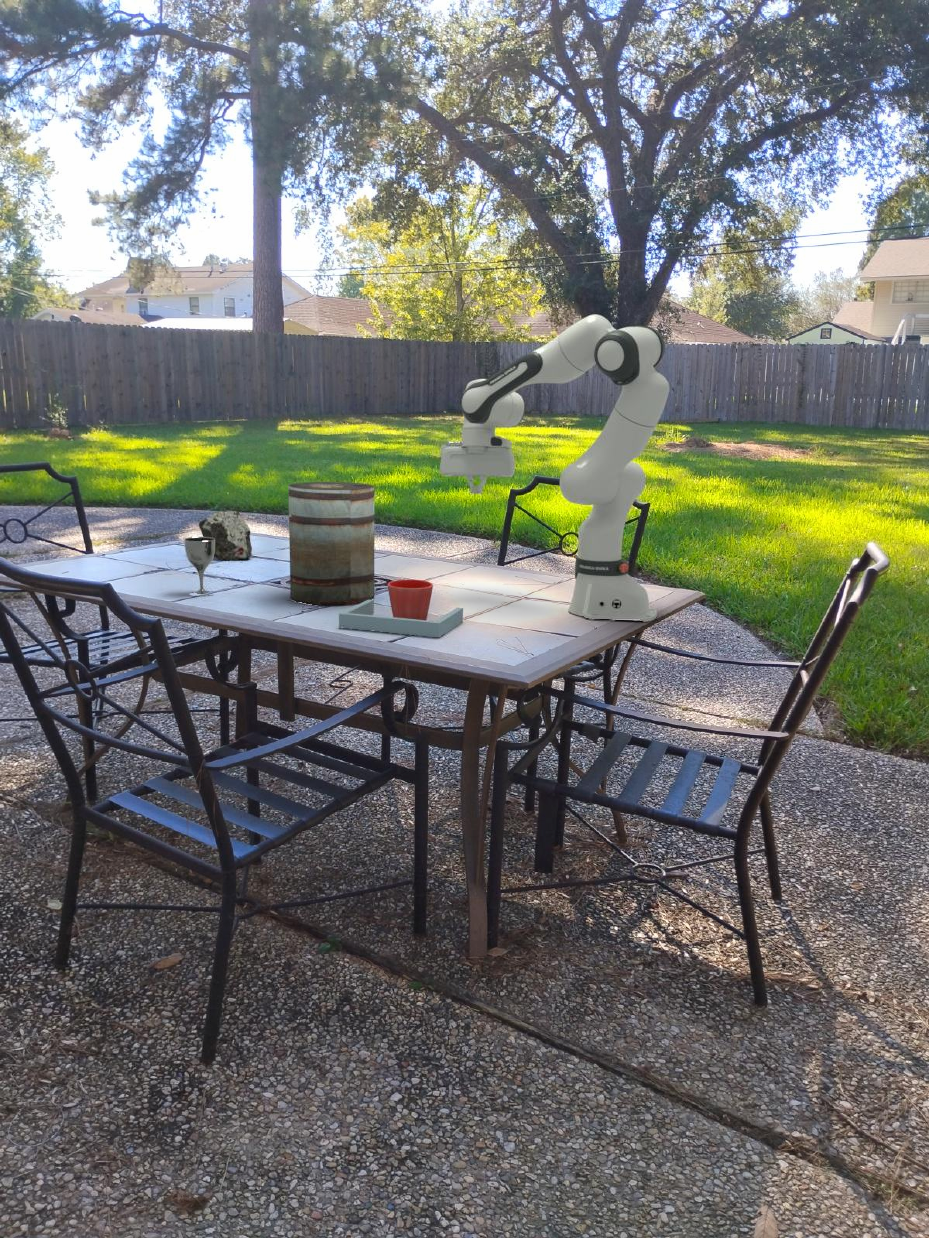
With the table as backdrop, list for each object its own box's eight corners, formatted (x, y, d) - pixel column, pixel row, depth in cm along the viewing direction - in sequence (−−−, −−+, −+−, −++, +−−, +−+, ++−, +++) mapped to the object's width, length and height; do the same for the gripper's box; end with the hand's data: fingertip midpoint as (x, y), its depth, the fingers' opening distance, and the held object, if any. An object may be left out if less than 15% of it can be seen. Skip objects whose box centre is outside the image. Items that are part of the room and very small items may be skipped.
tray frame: (462, 622, 244) (463, 608, 243) (439, 638, 228) (439, 623, 227) (368, 613, 252) (368, 599, 251) (338, 628, 235) (338, 613, 234)
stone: (191, 568, 323) (190, 528, 314) (203, 540, 338) (203, 501, 329) (249, 575, 324) (250, 535, 316) (258, 547, 339) (259, 508, 331)
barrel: (352, 586, 285) (351, 480, 278) (389, 601, 266) (389, 488, 259) (277, 593, 273) (275, 483, 266) (310, 609, 254) (309, 491, 248)
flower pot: (413, 630, 235) (414, 589, 233) (378, 623, 241) (378, 583, 239) (441, 622, 243) (441, 583, 241) (406, 615, 250) (406, 577, 248)
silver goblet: (203, 589, 276) (201, 535, 272) (223, 593, 271) (221, 538, 268) (180, 594, 269) (178, 539, 266) (200, 598, 265) (197, 542, 261)
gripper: (437, 439, 267) (435, 491, 268) (512, 440, 262) (509, 493, 263) (444, 443, 273) (442, 493, 274) (517, 443, 268) (515, 495, 269)
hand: (476, 493), depth 268 cm, fingers closed
